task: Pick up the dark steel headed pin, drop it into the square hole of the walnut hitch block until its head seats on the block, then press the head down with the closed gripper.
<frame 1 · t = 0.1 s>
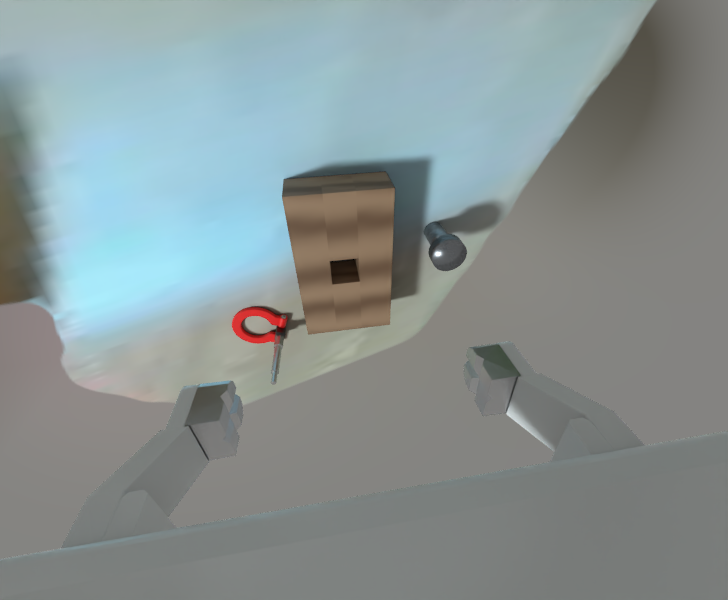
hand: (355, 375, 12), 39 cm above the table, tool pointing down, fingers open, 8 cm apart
hitch block: (341, 250, 53), on the table
steel pin: (433, 230, 54), on the table
tow hook: (259, 323, 61), on the table
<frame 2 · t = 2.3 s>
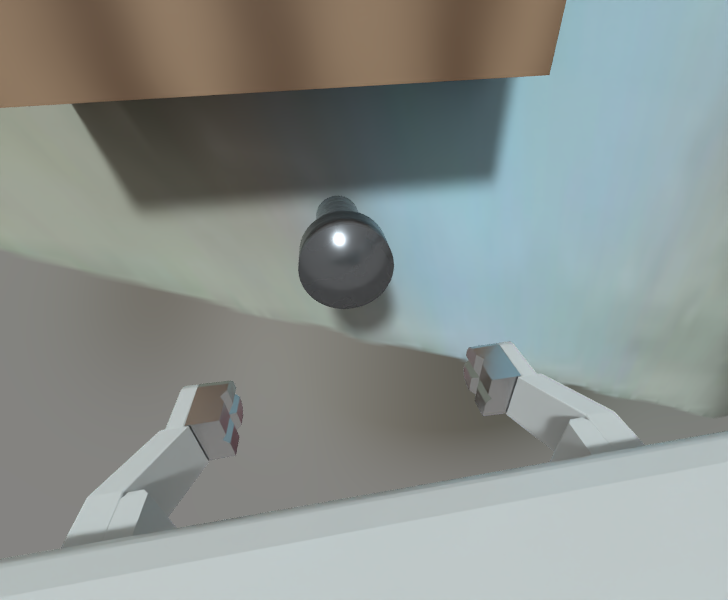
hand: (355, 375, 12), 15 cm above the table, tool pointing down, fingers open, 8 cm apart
steel pin: (337, 216, 24), on the table
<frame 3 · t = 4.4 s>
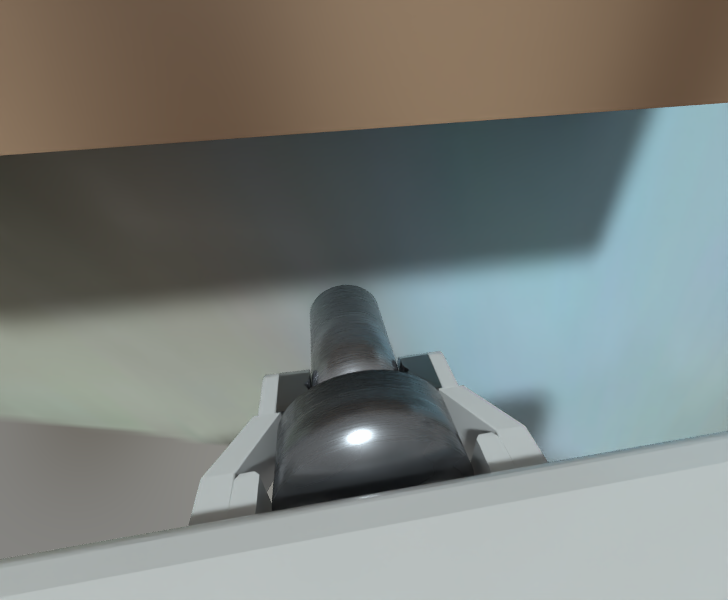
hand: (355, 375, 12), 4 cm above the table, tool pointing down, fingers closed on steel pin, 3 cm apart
steel pin: (344, 314, 15), on the table, touching gripper
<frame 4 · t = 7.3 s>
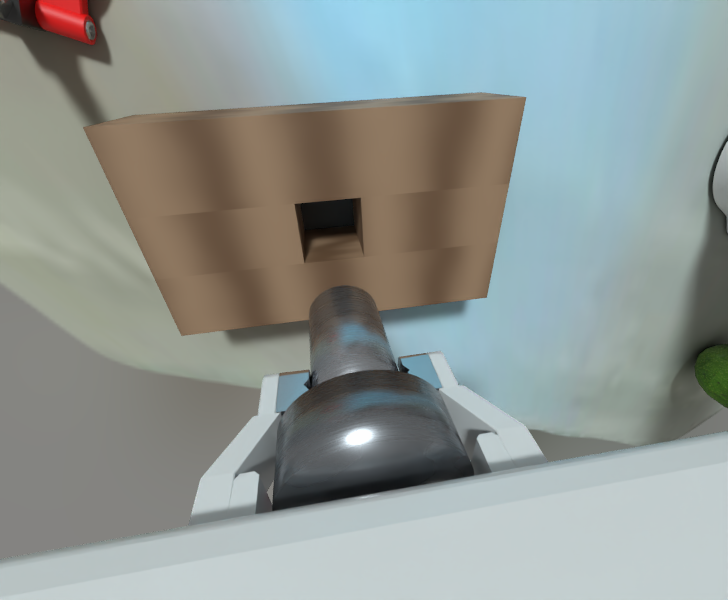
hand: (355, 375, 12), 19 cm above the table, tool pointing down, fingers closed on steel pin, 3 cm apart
hitch block: (326, 203, 27), on the table
steel pin: (343, 314, 15), point 15 cm above the table, touching gripper
avocado: (703, 352, 47), on the table
when the fingers open (8 cm above the table, at t = 10.6 s): steel pin stays where it is, resting on hitch block.
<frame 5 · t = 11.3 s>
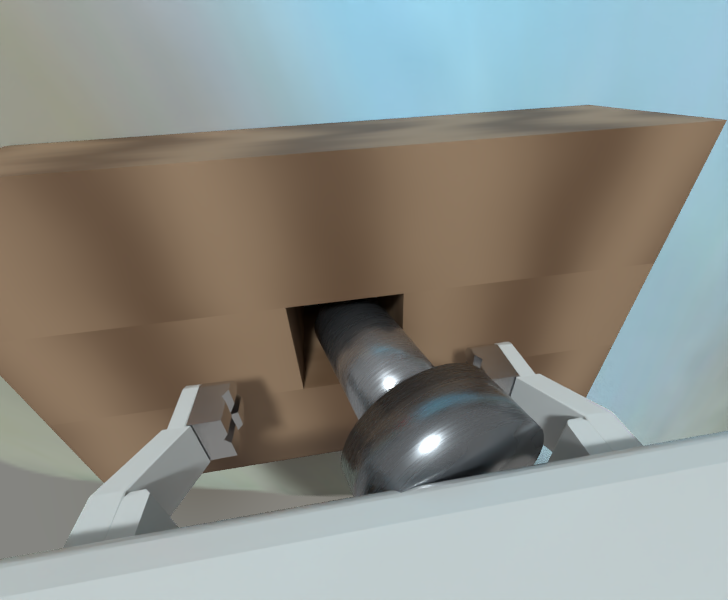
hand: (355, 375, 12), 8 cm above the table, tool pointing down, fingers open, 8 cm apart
hitch block: (337, 270, 18), on the table
steel pin: (348, 320, 14), point 4 cm above the table, tilted 16°, touching gripper, hitch block
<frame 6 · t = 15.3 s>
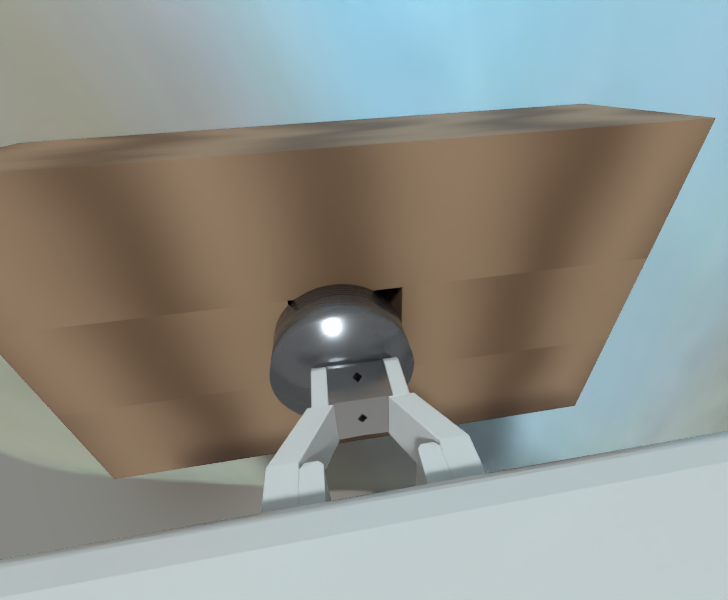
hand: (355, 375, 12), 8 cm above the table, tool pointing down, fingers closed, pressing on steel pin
hitch block: (337, 266, 18), on the table
steel pin: (330, 268, 18), resting on hitch block, touching gripper
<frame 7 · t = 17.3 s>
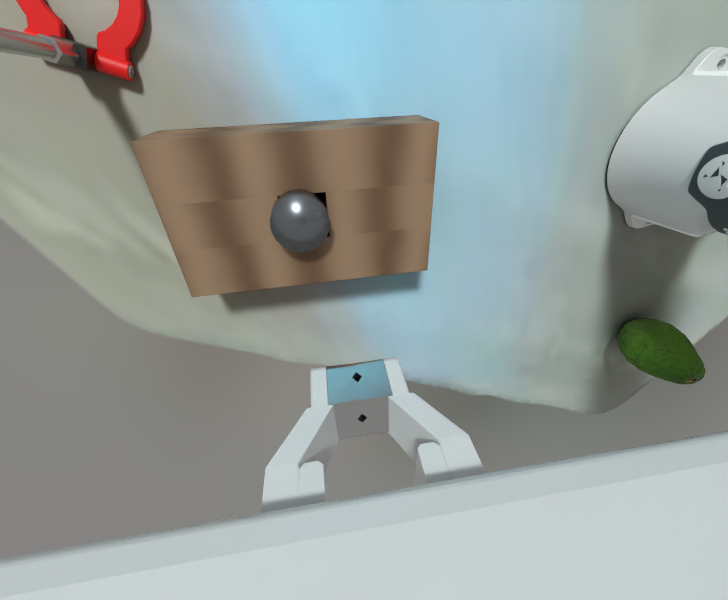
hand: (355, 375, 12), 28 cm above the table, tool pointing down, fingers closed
hitch block: (303, 197, 35), on the table
steel pin: (299, 197, 35), resting on hitch block
avocado: (626, 326, 55), on the table
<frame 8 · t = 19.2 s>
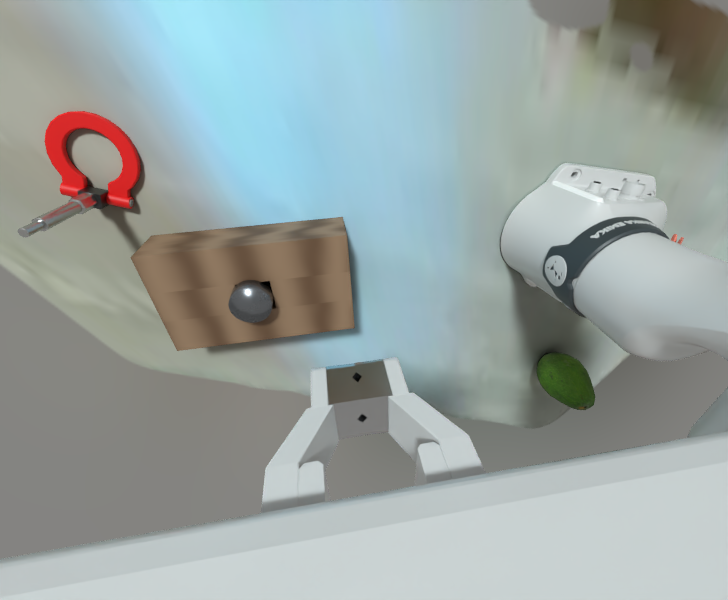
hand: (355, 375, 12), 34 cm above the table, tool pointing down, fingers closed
hitch block: (261, 273, 47), on the table
steel pin: (258, 274, 46), resting on hitch block
tow hook: (98, 159, 36), on the table
avocado: (546, 357, 66), on the table
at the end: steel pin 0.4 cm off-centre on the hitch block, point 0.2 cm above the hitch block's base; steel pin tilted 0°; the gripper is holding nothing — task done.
